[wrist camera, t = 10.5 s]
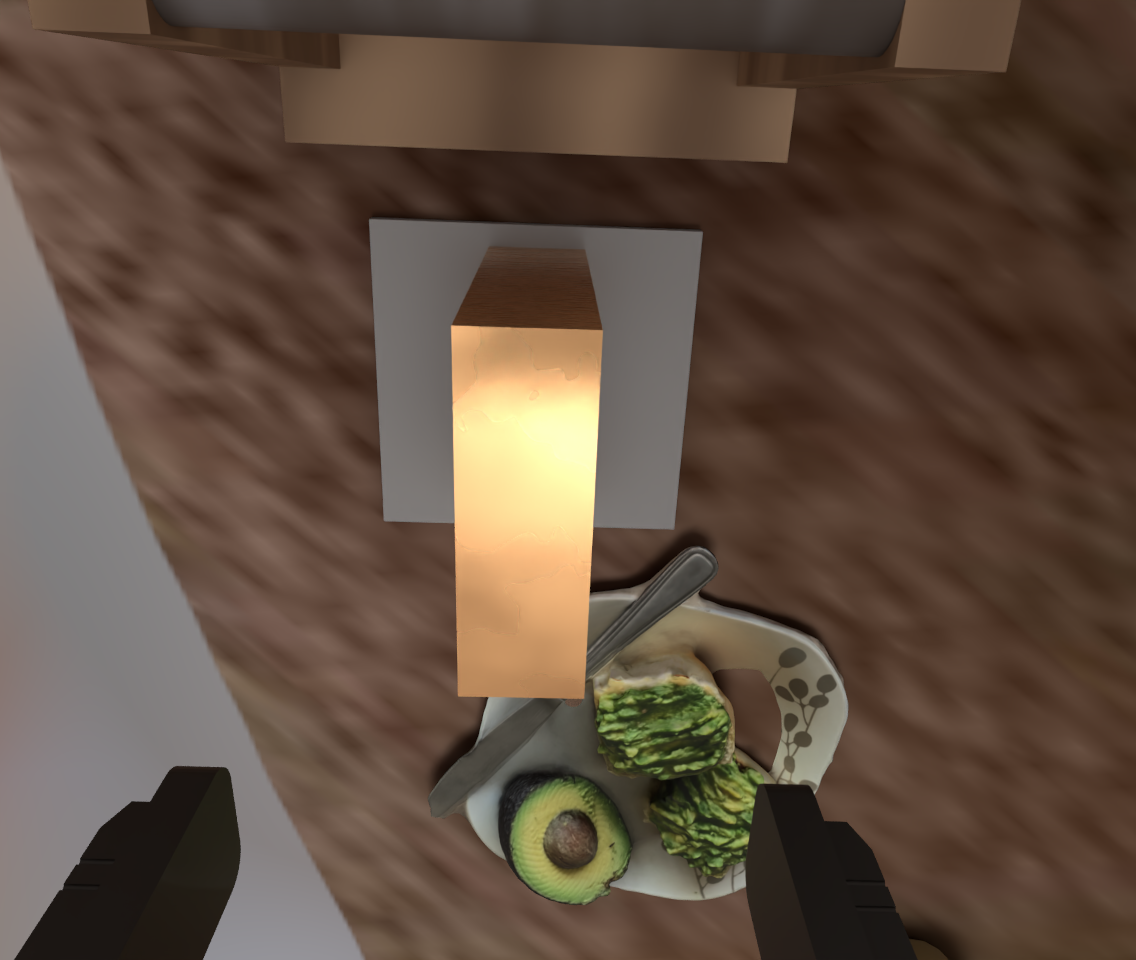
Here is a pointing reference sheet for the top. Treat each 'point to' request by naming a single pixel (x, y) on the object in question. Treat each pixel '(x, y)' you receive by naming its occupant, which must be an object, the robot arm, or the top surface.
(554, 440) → the link
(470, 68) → the stand
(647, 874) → the salad plate
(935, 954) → the squeeze bottle
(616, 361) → the mat
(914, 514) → the top surface
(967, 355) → the top surface
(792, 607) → the top surface
